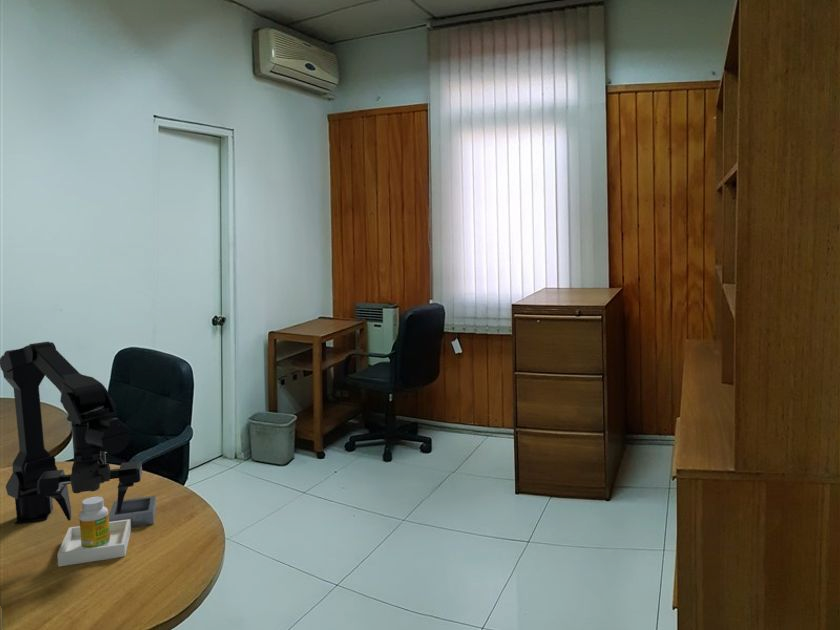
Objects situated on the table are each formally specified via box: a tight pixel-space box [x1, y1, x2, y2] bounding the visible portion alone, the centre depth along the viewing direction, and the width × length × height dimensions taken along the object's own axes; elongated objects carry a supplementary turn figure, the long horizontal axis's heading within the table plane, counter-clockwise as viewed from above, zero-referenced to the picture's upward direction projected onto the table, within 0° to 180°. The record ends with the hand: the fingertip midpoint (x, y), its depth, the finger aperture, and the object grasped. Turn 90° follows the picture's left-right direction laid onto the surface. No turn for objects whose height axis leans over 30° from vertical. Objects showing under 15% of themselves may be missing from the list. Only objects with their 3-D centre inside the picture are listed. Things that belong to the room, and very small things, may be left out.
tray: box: [56, 519, 132, 568], centre depth 132 cm, size 12×12×3 cm
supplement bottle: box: [78, 496, 110, 549], centre depth 132 cm, size 5×5×10 cm
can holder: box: [108, 495, 157, 528], centre depth 145 cm, size 9×9×3 cm
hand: (94, 516), depth 131 cm, fingers open, 9 cm apart
